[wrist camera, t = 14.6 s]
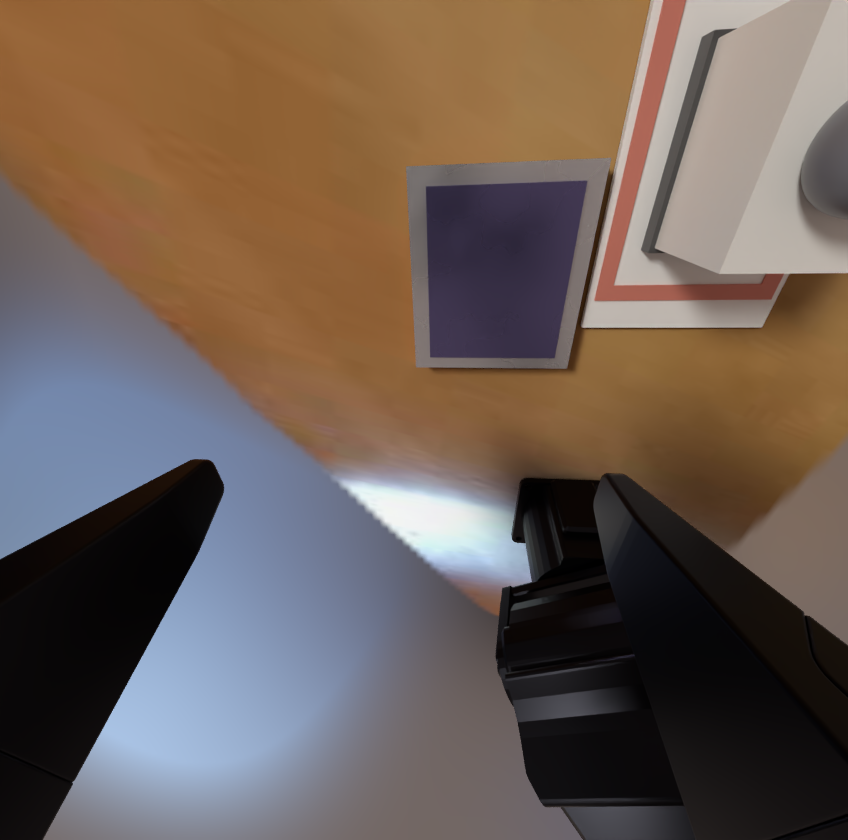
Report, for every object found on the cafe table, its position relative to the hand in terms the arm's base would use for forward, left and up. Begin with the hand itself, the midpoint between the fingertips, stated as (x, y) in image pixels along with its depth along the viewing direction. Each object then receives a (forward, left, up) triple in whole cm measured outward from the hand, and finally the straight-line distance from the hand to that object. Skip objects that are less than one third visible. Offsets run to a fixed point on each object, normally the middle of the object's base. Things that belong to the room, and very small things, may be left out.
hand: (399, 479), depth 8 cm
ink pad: (+2, -3, -13) cm, 13 cm away
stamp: (+6, -12, -13) cm, 18 cm away
